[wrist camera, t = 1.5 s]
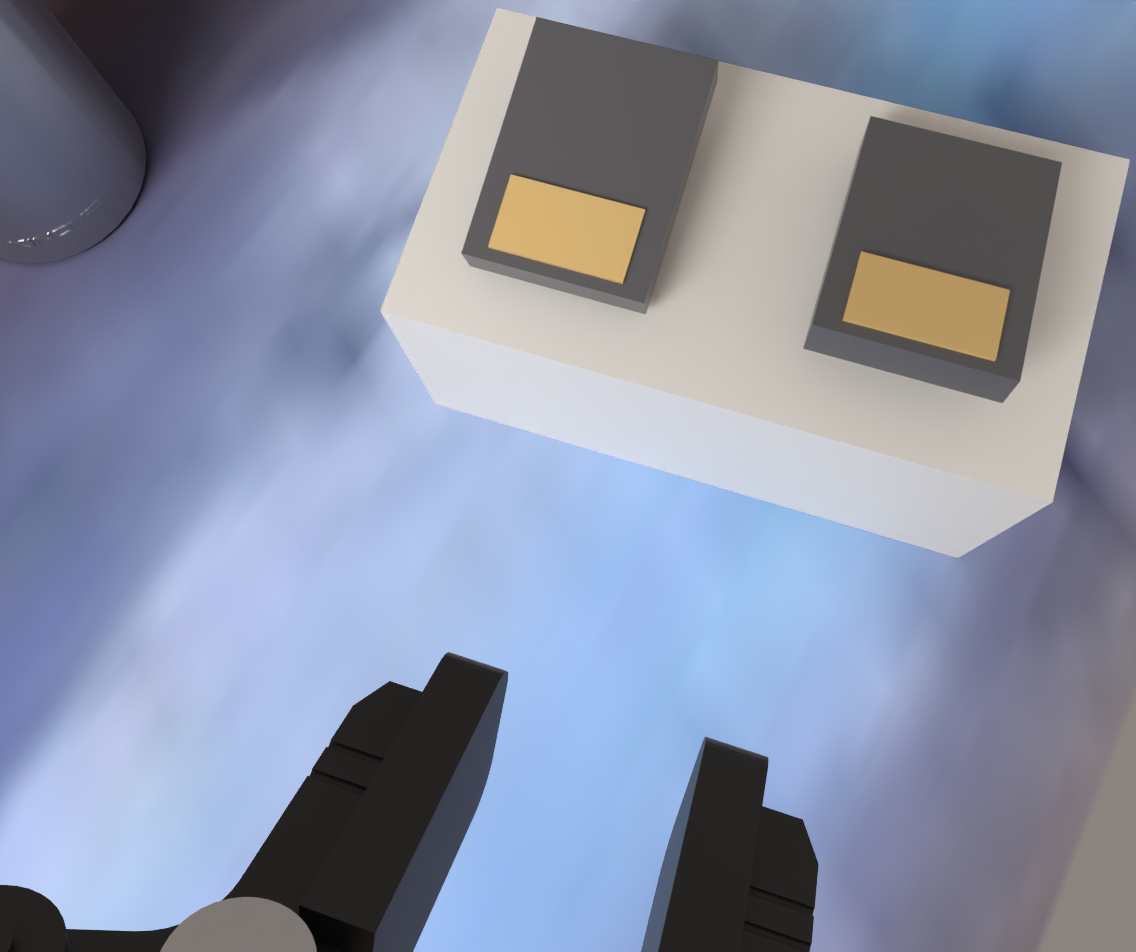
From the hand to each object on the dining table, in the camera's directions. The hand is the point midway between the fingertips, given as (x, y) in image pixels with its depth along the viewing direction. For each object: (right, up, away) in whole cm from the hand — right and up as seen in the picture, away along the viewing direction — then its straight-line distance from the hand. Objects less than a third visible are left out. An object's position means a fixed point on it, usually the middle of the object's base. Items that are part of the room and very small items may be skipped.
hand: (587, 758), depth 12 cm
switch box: (+7, +9, +33) cm, 34 cm away
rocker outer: (+11, +10, +21) cm, 25 cm away
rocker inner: (+1, +13, +22) cm, 26 cm away
